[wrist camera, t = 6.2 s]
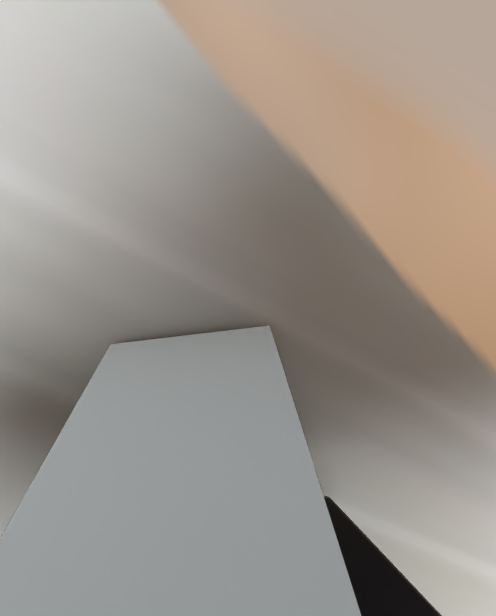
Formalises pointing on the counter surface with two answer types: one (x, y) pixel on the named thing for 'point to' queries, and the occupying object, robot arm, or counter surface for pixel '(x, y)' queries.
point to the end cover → (178, 493)
